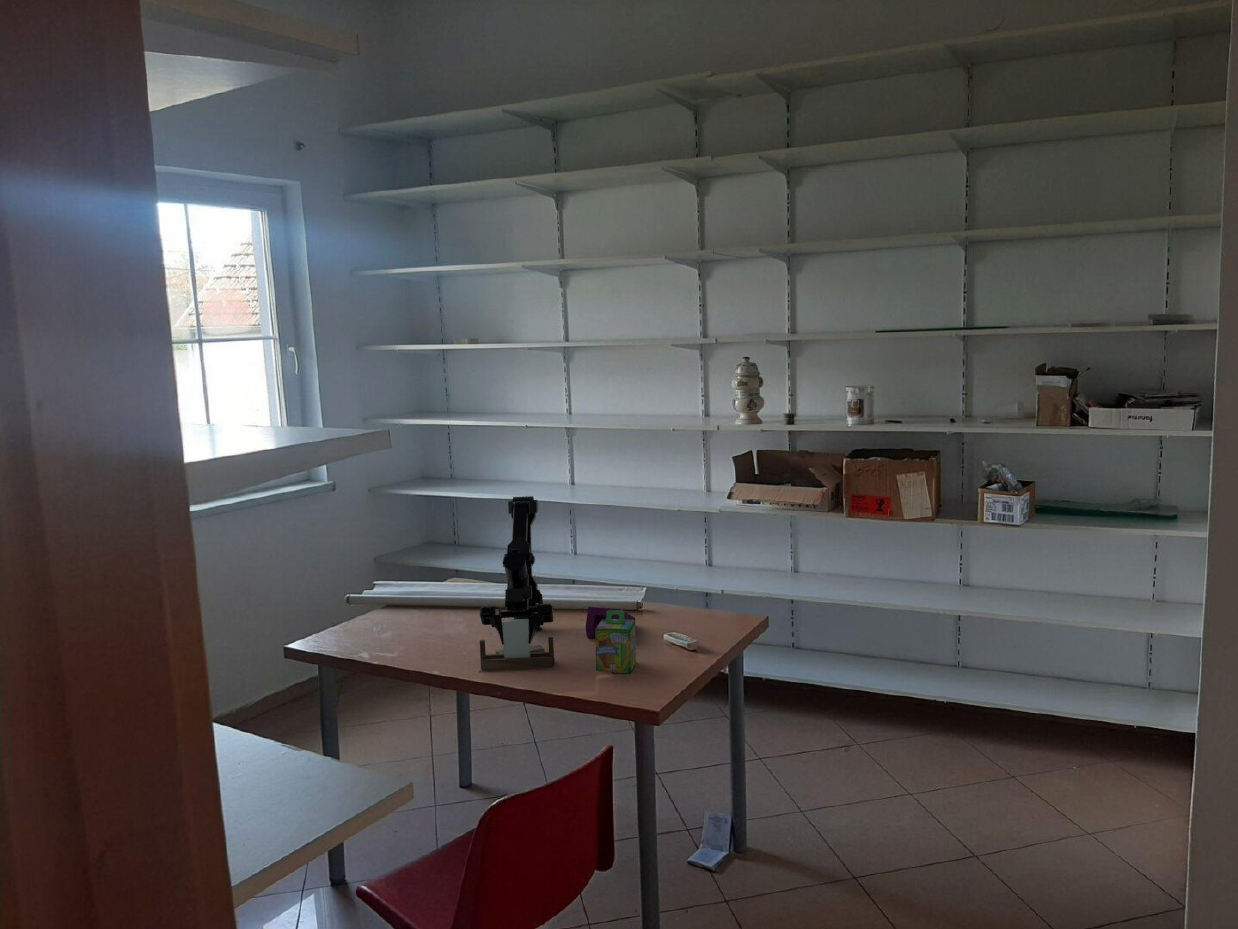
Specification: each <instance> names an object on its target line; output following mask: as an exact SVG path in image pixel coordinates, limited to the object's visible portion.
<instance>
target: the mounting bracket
mask: <svg viewBox="0 0 1238 929" xmlns="http://www.w3.org/2000/svg"><path fill="white" fill-rule="evenodd" d="M608 610H621V609H620V608H611V607H610V608H609V607H608V608H607V607H597V606H596V607H595V606H588V607H587V611H586V612H587V613H586V622H585V635H586V637H587V638H588V639H591V640H595V629H596V627H597V626H598V624H599V623H600V621H601V620H602V619H606V613H607V611H608ZM624 612H625V619H627V620H634V621H635V622H636V617H635V616H633V615H631V614H629V613H628V612H626V611H624ZM611 618H612V619H619V618H620V617H619V615H617V614H614V615H612V616H611Z"/></svg>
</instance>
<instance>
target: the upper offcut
mask: <svg viewBox="0 0 1238 929" xmlns="http://www.w3.org/2000/svg"><path fill="white" fill-rule="evenodd" d="M535 652H546V651H545V647H544V646H542V644H540V643H538V642H536V643H531V644H530V653H535ZM495 654H504V648H501V649H495Z"/></svg>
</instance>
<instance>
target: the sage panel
mask: <svg viewBox="0 0 1238 929" xmlns="http://www.w3.org/2000/svg"><path fill="white" fill-rule="evenodd" d="M502 624H503V639H504V645H503V649H504V658H528V657H530V644H529V619H514V618H512V619H511V618H509V619H502Z"/></svg>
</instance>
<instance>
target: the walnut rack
mask: <svg viewBox="0 0 1238 929" xmlns="http://www.w3.org/2000/svg"><path fill="white" fill-rule="evenodd" d="M547 640H548V643H547V644H548V651H545V652H535V653H530V657H528V658H504V654H496V653H490V654H489V653H488V654H487V653H486V640H485V639H480V640H479V653H480V654H479V655H480V669H479V671H478V673H499V672H500V673H501V672H504V673H505V672H524V671H526V672H528V671H549V670H550V671H551V670H555V664H556V659H555V652H554V651H555V650H554V648H555V647H554V637H553V636H549V637H548V639H547Z"/></svg>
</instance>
